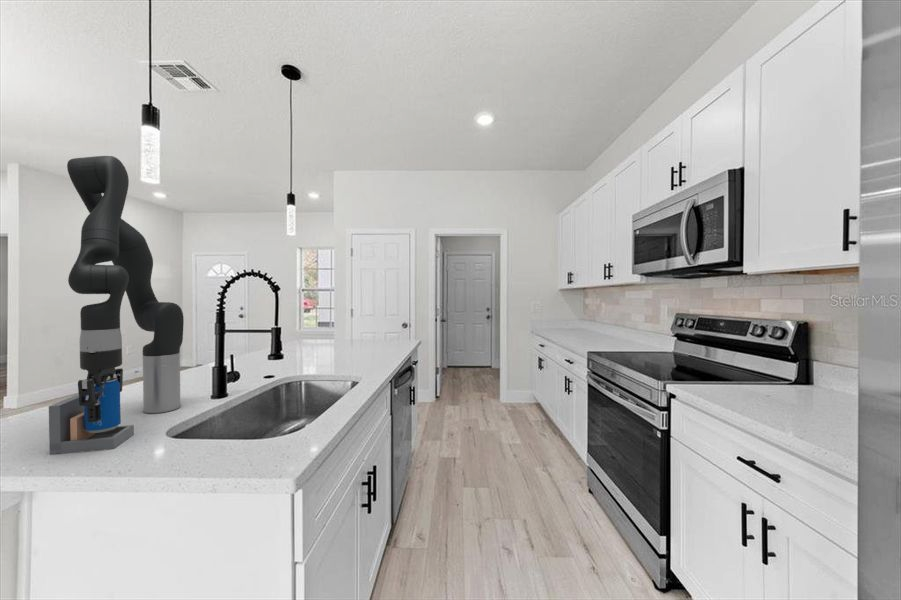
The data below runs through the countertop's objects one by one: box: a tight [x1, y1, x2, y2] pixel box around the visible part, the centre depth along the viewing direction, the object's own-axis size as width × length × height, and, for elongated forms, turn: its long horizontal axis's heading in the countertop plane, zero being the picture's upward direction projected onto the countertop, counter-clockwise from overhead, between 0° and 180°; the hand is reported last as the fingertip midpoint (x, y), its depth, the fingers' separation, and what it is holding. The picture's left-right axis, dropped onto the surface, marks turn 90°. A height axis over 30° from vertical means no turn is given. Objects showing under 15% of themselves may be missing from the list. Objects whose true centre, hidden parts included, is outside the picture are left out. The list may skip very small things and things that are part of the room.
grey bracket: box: [48, 394, 135, 455], centre depth 92 cm, size 12×9×11 cm
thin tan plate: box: [70, 412, 95, 441], centre depth 92 cm, size 1×7×6 cm, turn 16°
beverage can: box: [84, 378, 122, 433], centre depth 93 cm, size 6×6×12 cm
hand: (102, 416), depth 93 cm, fingers closed on beverage can, 6 cm apart
